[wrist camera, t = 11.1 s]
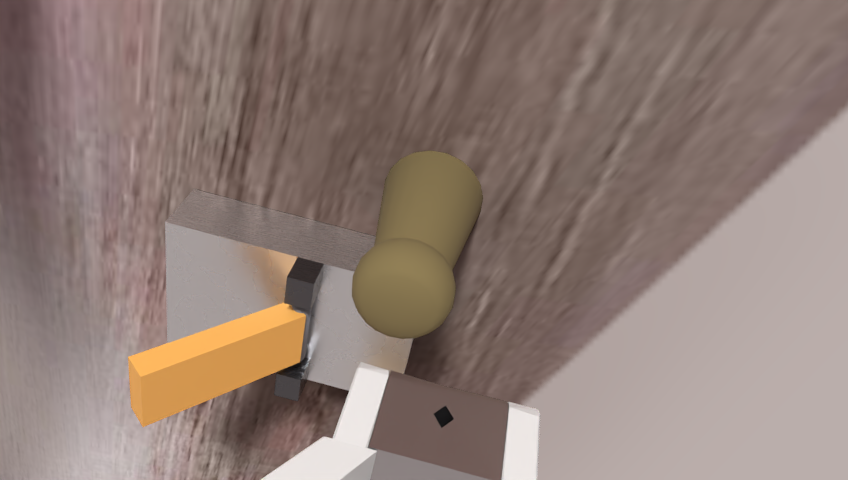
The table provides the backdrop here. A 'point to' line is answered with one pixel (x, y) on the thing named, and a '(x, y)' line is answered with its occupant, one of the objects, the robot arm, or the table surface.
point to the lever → (216, 361)
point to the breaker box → (273, 284)
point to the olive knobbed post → (417, 245)
